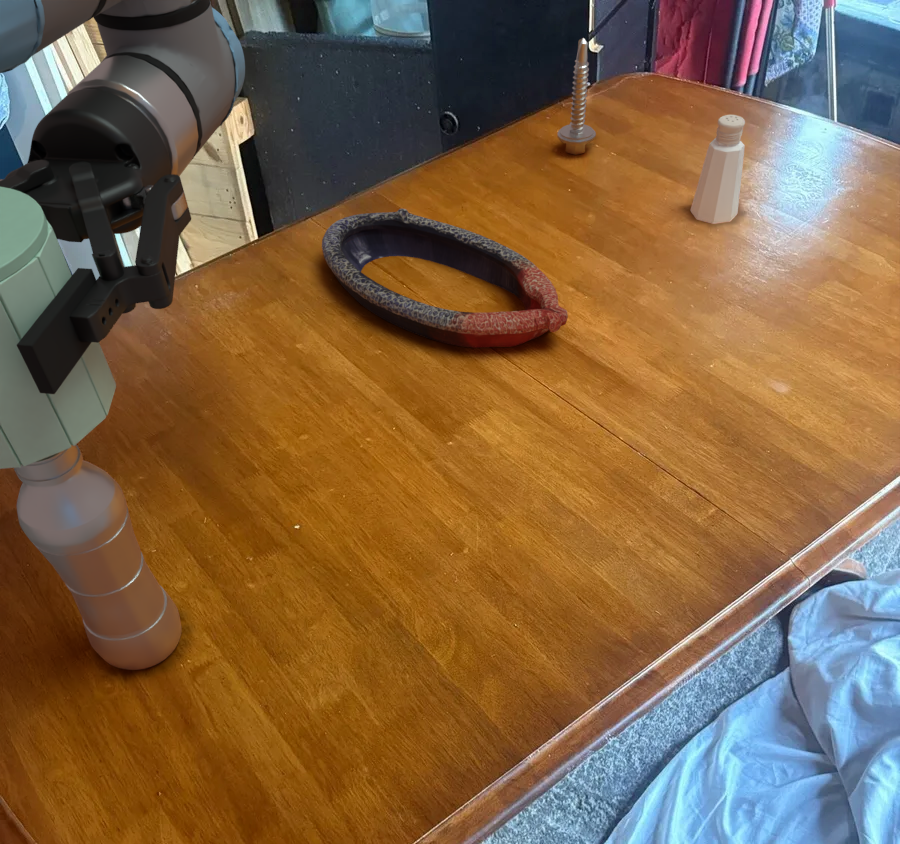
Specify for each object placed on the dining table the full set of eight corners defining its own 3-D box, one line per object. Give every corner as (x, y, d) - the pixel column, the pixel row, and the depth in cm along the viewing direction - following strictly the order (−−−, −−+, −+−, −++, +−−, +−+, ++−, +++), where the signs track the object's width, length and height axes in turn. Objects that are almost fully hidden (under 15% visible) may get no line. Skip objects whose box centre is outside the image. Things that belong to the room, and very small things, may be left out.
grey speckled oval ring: (390, 227, 104) (385, 185, 101) (601, 324, 91) (606, 280, 87) (289, 284, 98) (281, 241, 94) (501, 399, 84) (502, 354, 80)
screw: (570, 138, 117) (601, 147, 115) (549, 152, 115) (581, 162, 113) (577, 27, 107) (611, 35, 105) (554, 40, 105) (589, 48, 103)
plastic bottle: (149, 695, 64) (38, 495, 49) (81, 659, 66) (-45, 457, 51) (206, 632, 68) (120, 427, 52) (140, 599, 70) (38, 394, 54)
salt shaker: (711, 236, 100) (731, 135, 92) (678, 216, 103) (695, 117, 95) (746, 221, 102) (769, 120, 94) (713, 202, 105) (732, 103, 97)
